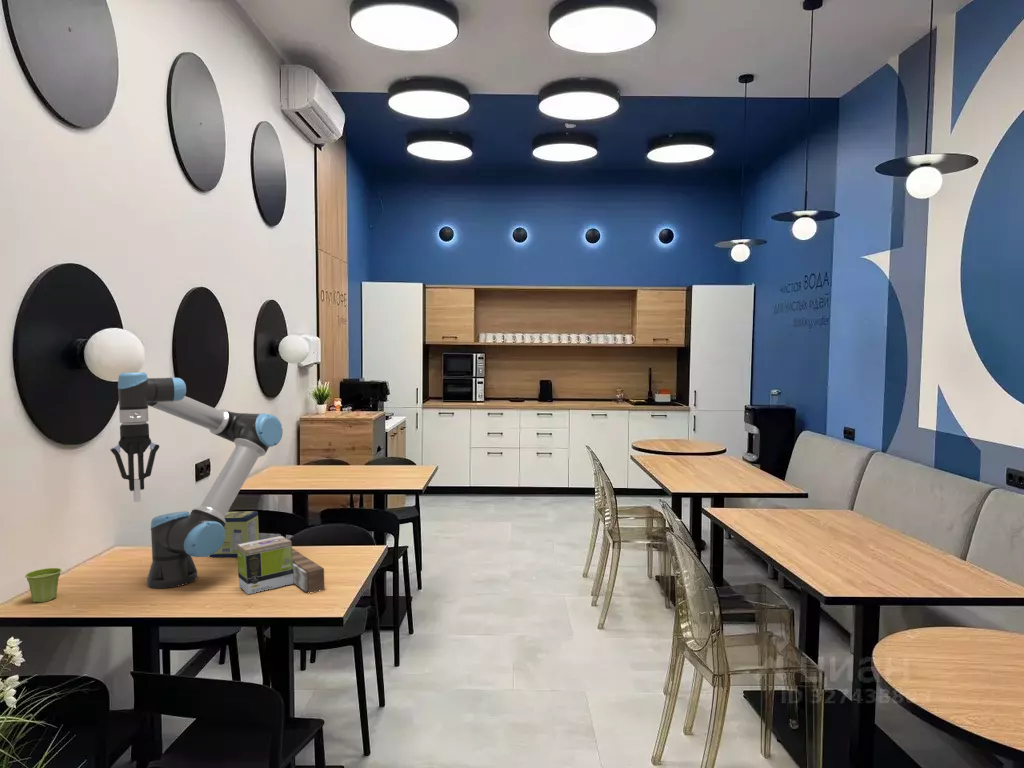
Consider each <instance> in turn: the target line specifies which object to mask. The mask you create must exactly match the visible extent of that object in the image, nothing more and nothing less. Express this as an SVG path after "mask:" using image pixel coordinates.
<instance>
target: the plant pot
mask: <svg viewBox="0 0 1024 768" xmlns="http://www.w3.org/2000/svg"><path fill="white" fill-rule="evenodd" d="M62 571H63V569H62V568H59V567H48V568H41V569H36V570H33V571H30V572H27V573H26V574H25V575H24V578H26V581H27V583H28V586H29V591H30V595H31V600H32V602H33V603H44V602H45V603H46V602H49V601H52V600H53V599H56V598H57V593H58V585H59V580H60V579H59V577H60V575H61V573H62Z"/></svg>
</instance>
